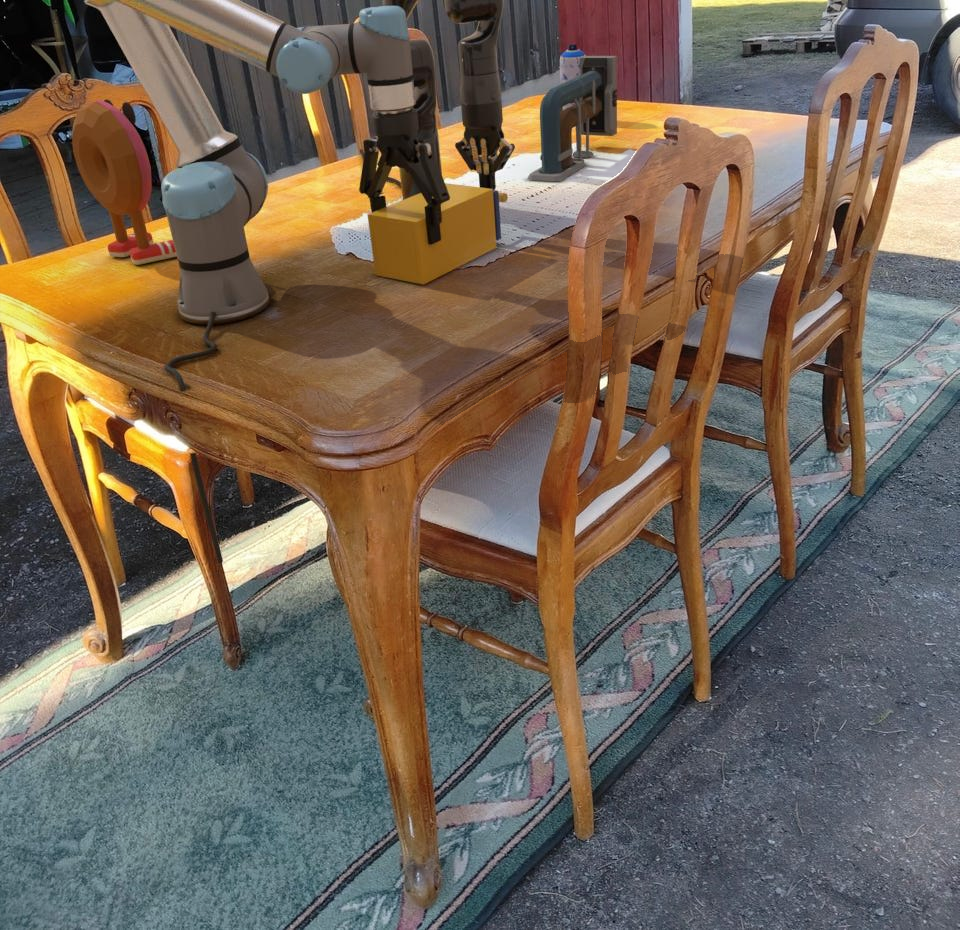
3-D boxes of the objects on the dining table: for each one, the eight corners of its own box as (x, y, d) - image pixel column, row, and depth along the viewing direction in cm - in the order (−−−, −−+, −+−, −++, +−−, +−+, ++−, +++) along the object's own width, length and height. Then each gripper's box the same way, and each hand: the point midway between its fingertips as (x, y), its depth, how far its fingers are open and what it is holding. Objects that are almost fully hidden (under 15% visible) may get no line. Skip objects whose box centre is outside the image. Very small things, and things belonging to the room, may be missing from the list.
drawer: (478, 223, 195) (475, 177, 190) (520, 229, 189) (517, 182, 185) (390, 264, 177) (384, 214, 172) (433, 272, 171) (428, 221, 167)
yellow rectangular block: (450, 240, 190) (445, 183, 184) (496, 247, 184) (493, 188, 178) (375, 275, 175) (367, 214, 170) (423, 284, 169) (416, 221, 163)
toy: (194, 256, 192) (157, 98, 177) (148, 271, 186) (106, 109, 171) (139, 239, 206) (100, 90, 190) (95, 253, 199) (51, 100, 184)
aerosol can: (559, 122, 275) (557, 47, 265) (562, 117, 282) (559, 42, 272) (587, 121, 274) (585, 45, 263) (589, 115, 280) (587, 41, 270)
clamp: (559, 181, 220) (556, 82, 210) (525, 179, 224) (520, 82, 214) (617, 145, 246) (616, 55, 235) (585, 144, 250) (583, 55, 239)
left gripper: (464, 108, 156) (474, 240, 167) (357, 101, 169) (373, 224, 180) (434, 118, 151) (447, 253, 162) (326, 110, 164) (345, 235, 175)
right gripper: (522, 96, 177) (527, 191, 185) (465, 93, 184) (472, 185, 192) (498, 104, 172) (504, 201, 180) (440, 101, 179) (449, 194, 187)
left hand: (408, 237), depth 171 cm, fingers closed on yellow rectangular block, 11 cm apart
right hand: (488, 192), depth 186 cm, fingers closed
